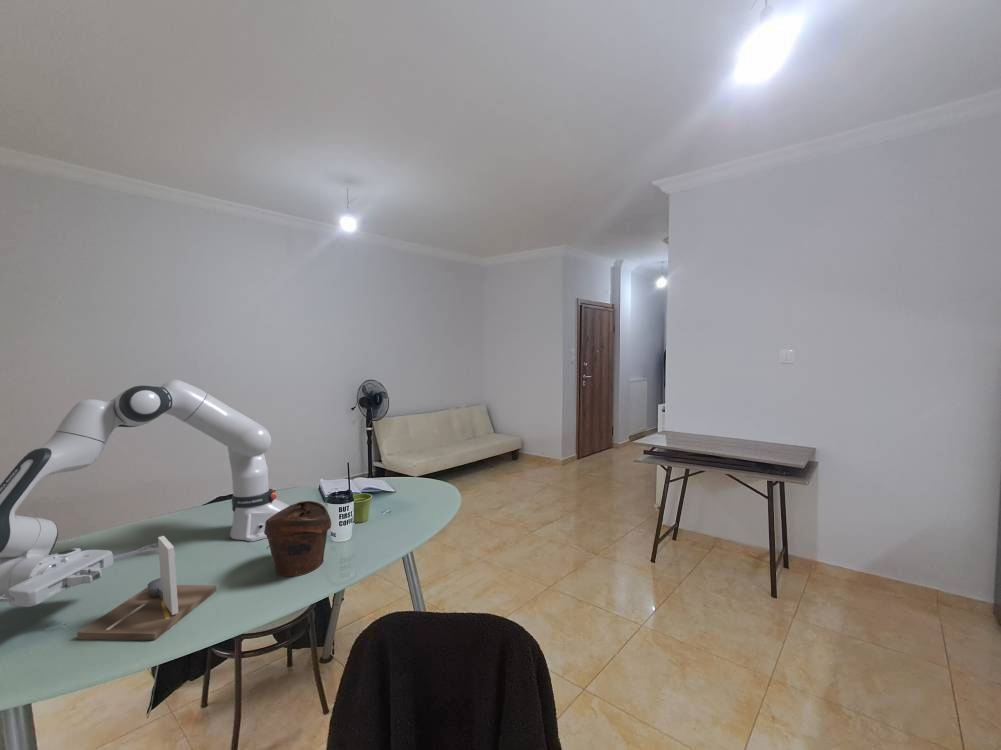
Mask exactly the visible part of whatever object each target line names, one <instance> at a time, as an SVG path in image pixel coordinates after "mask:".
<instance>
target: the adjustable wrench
mask: <svg viewBox="0 0 1001 750" xmlns="http://www.w3.org/2000/svg"><path fill="white" fill-rule="evenodd" d="M155 554H156V555H157V554H159V544H158V542H157V543H151V544H147V545H146V544H145V545H144V546H142V547H141V548H137V549H135V550H132V551H128V552H125V553H121V554H120V553H119V554H116V555H113V563H117V562H119V561H125V560H127V559H131V558H134V557H141V556H148V555H155Z"/></svg>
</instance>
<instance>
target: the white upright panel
mask: <svg viewBox="0 0 1001 750" xmlns="http://www.w3.org/2000/svg"><path fill="white" fill-rule="evenodd" d="M157 541H158V542H157V543H158V544H159V553H158V556H159V557H158V558H159V572H160V574H159V575H160V577H159V578H157V579H154V580H152V581H150V582H149V583H148V584H147V587H148V596H150V597H157V596H160V597H161V599H162V600H163V602H164V603H165V605H166V606H167V608H168V609H169V611H170V612H171V614H172V615H174V614H177V613H178V598H177V585H178V584H177V583H178V582H177V570H176V555H175V547H174V545H173V544H172V543H171V542H170V541H169V540H168V538H166V537H165V535H160V536H158V537H157Z"/></svg>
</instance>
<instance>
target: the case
mask: <svg viewBox="0 0 1001 750" xmlns="http://www.w3.org/2000/svg"><path fill="white" fill-rule="evenodd" d="M331 528H332V519H331V517H330V514H329V513H328V510H327V508H326V507H325V505H323V504H322V503H320V502H317V501H313V500H305V501H299V502H295V503H294V504H290V505H289V507H287V508H285V509H283V510H281V511H279V512H278V513H276V514H275V515H273V516H272V517H270V518H269V519H268V520H266V523H265V531H264V534H265V535H267V538H266V539H267V541H268V546H267V547H266V549H268V548H269V549H270V554H271V557H272V561H273V563H274V567H275V571H276V573H277V574H278V575H279V576H283V577H297V576H301V575H305V574H306V575H307V574H308V573H310V572H313V571H314V570H316V569H319V567H320V566H321V565H322V564H323V563H324V558H325V557H324V556H325V549H326V543H327V536H328V531H329V530H330V529H331Z"/></svg>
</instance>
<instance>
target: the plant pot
mask: <svg viewBox="0 0 1001 750" xmlns="http://www.w3.org/2000/svg"><path fill="white" fill-rule="evenodd" d="M352 495H353V498H354V521H353V522H352V523H354V524H358V523H365V522H367V521H369V519H370V518H369V515H370V507H371V501H372V498H373V495H372V494H370V493H366V492H365V493H364V492H363V493H355V494H352Z"/></svg>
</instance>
